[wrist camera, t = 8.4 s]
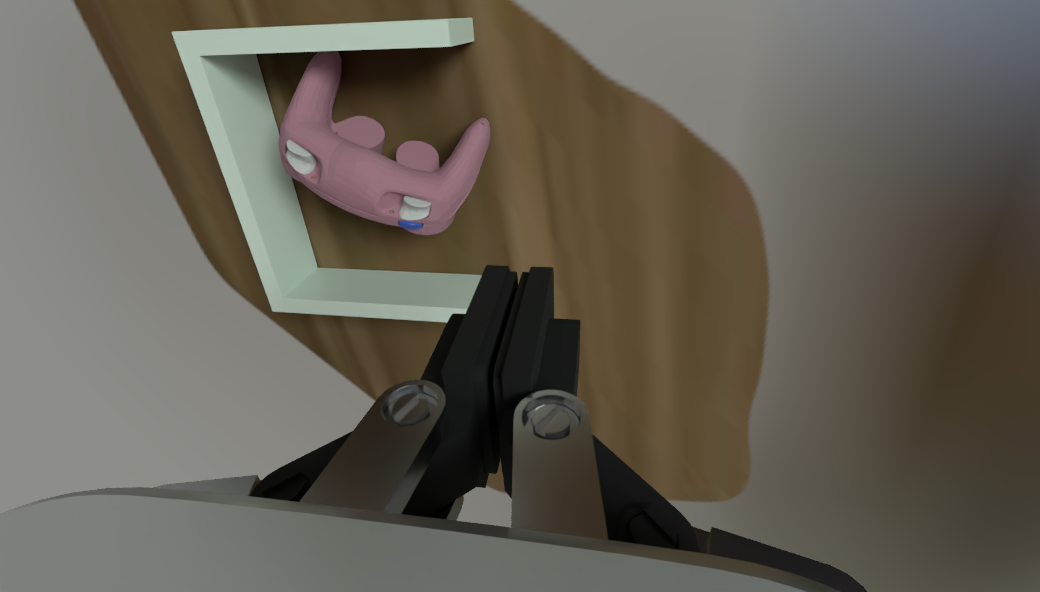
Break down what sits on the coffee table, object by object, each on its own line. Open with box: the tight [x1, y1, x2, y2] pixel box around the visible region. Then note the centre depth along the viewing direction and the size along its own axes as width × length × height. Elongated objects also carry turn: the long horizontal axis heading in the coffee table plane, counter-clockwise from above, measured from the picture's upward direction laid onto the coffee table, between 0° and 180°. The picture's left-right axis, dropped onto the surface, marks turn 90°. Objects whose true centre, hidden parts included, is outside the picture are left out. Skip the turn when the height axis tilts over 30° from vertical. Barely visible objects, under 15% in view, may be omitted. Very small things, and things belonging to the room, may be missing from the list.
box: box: [172, 18, 482, 322], centre depth 26 cm, size 15×13×4 cm
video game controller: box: [278, 51, 490, 235], centre depth 24 cm, size 10×5×7 cm, turn 68°
